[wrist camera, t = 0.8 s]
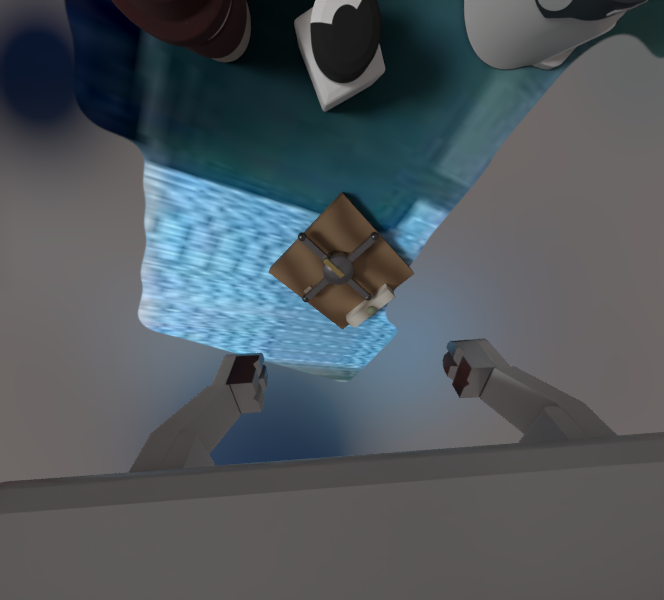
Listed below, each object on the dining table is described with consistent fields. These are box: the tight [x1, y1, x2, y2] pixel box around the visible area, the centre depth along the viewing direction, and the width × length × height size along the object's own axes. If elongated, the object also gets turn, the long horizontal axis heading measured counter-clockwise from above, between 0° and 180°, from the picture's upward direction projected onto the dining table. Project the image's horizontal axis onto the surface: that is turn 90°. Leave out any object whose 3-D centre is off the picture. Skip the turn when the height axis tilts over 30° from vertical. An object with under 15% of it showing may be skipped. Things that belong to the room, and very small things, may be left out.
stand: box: [269, 192, 414, 329], centre depth 43 cm, size 18×19×5 cm
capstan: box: [298, 232, 379, 302], centre depth 41 cm, size 17×17×3 cm
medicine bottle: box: [294, 0, 385, 112], centre depth 25 cm, size 7×7×12 cm
